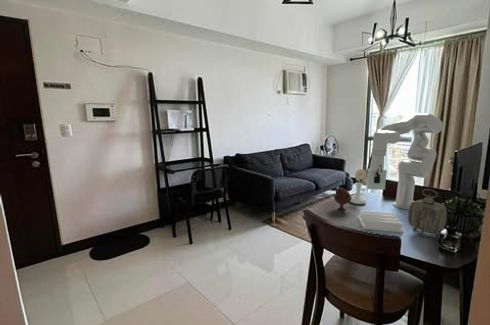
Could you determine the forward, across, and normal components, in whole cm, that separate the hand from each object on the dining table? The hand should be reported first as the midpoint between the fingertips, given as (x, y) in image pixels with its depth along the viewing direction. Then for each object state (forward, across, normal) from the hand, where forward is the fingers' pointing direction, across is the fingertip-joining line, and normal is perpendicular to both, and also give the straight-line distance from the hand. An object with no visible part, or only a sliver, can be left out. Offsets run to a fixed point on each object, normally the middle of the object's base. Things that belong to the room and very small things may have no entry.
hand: (376, 182), depth 159 cm
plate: (+4, 0, 0) cm, 4 cm away
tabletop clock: (+21, +24, +19) cm, 37 cm away
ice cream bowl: (+21, -4, -18) cm, 28 cm away
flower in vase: (+21, -20, -5) cm, 30 cm away
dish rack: (+21, +15, 0) cm, 26 cm away
